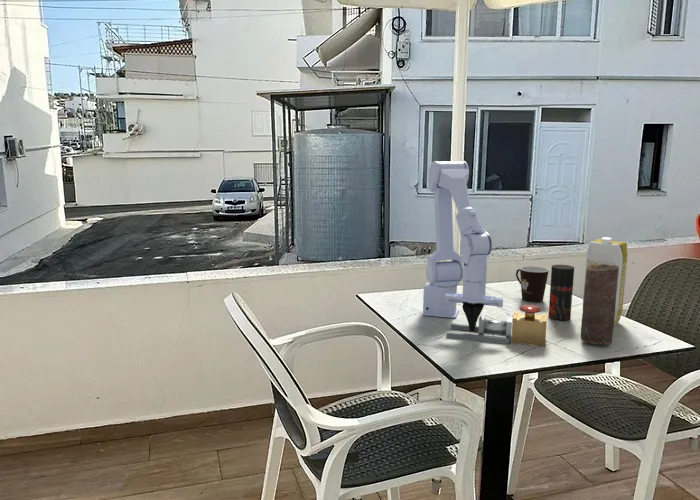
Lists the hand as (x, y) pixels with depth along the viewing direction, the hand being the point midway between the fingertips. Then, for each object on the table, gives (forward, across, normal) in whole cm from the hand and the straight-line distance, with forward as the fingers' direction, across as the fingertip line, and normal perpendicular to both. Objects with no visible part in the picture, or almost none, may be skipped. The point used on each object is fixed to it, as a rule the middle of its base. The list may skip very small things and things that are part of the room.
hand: (472, 330), depth 147 cm
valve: (+1, +14, 0) cm, 14 cm away
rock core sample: (+1, +30, +3) cm, 30 cm away
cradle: (+1, +2, 0) cm, 2 cm away
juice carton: (+1, +33, +22) cm, 40 cm away
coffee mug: (+1, +14, +41) cm, 43 cm away
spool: (+1, +6, 0) cm, 6 cm away
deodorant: (+1, +22, +22) cm, 31 cm away
